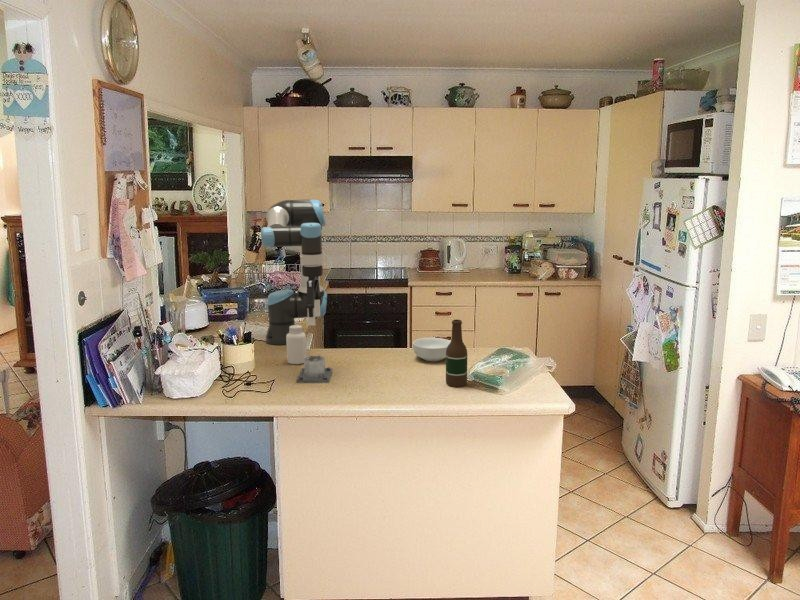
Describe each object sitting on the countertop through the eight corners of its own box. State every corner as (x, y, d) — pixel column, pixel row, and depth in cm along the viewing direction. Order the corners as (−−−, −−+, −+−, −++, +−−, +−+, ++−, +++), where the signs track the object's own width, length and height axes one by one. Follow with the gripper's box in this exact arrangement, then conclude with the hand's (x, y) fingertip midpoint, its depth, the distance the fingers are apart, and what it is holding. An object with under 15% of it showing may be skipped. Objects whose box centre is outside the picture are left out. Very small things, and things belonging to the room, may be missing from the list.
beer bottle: (441, 383, 232) (441, 320, 227) (456, 379, 237) (456, 316, 232) (456, 389, 226) (456, 323, 222) (471, 384, 231) (472, 320, 226)
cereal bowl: (441, 367, 252) (441, 350, 250) (405, 361, 260) (405, 344, 259) (459, 356, 266) (460, 340, 265) (424, 351, 274) (424, 335, 273)
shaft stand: (302, 370, 249) (301, 357, 248) (332, 370, 249) (332, 357, 247) (296, 382, 235) (295, 368, 234) (328, 382, 235) (328, 368, 234)
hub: (306, 370, 245) (306, 356, 244) (326, 370, 245) (325, 355, 244) (303, 377, 238) (303, 361, 237) (323, 376, 238) (323, 361, 237)
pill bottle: (308, 359, 264) (307, 324, 261) (304, 365, 256) (302, 329, 253) (290, 358, 265) (288, 324, 262) (284, 364, 257) (283, 328, 254)
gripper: (307, 259, 247) (309, 312, 252) (296, 270, 223) (298, 329, 227) (326, 259, 247) (328, 312, 252) (317, 270, 223) (319, 329, 227)
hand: (314, 320), depth 239 cm, fingers open, 13 cm apart
